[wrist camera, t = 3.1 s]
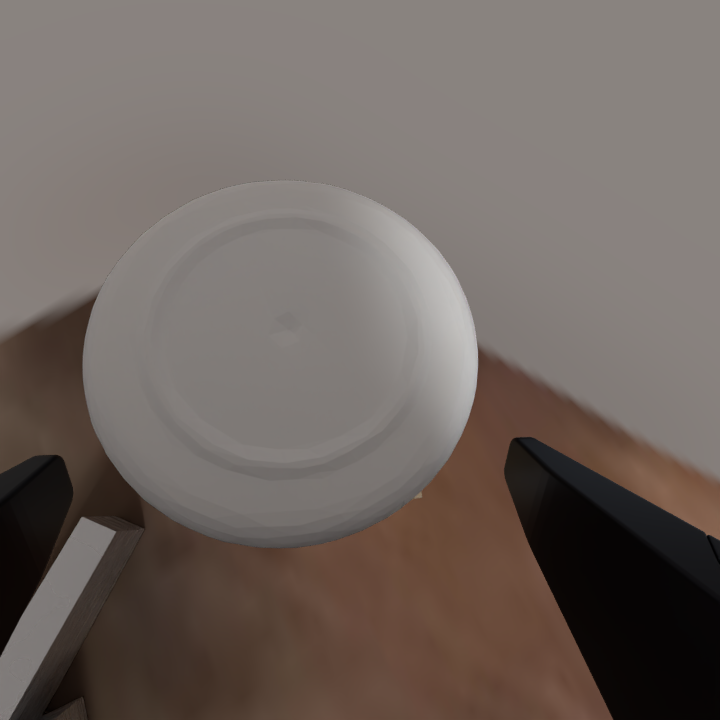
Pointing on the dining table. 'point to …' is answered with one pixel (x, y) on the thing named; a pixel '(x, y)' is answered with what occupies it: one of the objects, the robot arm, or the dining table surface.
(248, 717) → the dining table surface
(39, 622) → the V-block
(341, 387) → the sprinkles bottle
